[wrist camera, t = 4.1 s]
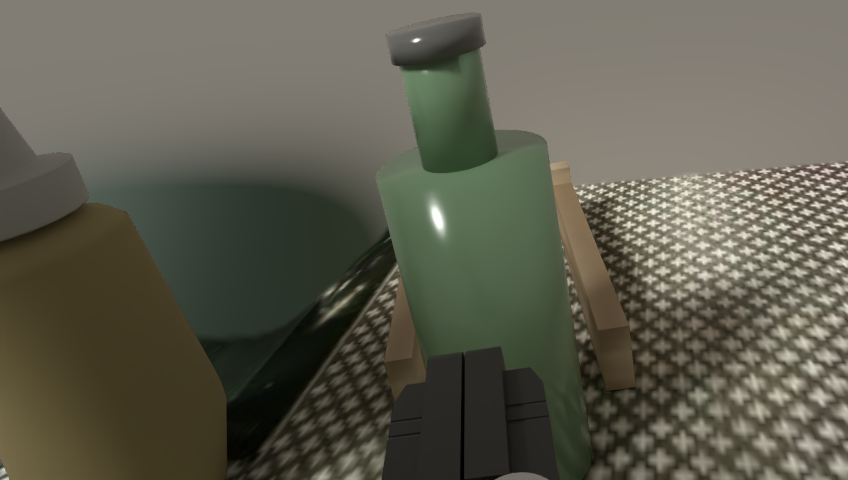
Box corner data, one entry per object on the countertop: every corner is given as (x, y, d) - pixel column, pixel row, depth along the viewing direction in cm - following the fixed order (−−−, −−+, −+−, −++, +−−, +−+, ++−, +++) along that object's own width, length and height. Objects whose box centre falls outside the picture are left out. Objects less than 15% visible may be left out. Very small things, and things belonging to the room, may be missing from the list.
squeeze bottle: (171, 418, 33) (2, 48, 26) (293, 452, 29) (130, 20, 22) (15, 548, 27) (-260, 114, 20) (139, 616, 23) (-155, 94, 16)
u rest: (399, 419, 29) (377, 342, 28) (424, 244, 45) (410, 189, 44) (635, 387, 28) (626, 303, 26) (574, 218, 44) (566, 160, 42)
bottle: (448, 517, 24) (325, 61, 17) (452, 417, 29) (356, 31, 22) (604, 499, 23) (535, 15, 17) (580, 399, 28) (519, -5, 22)
